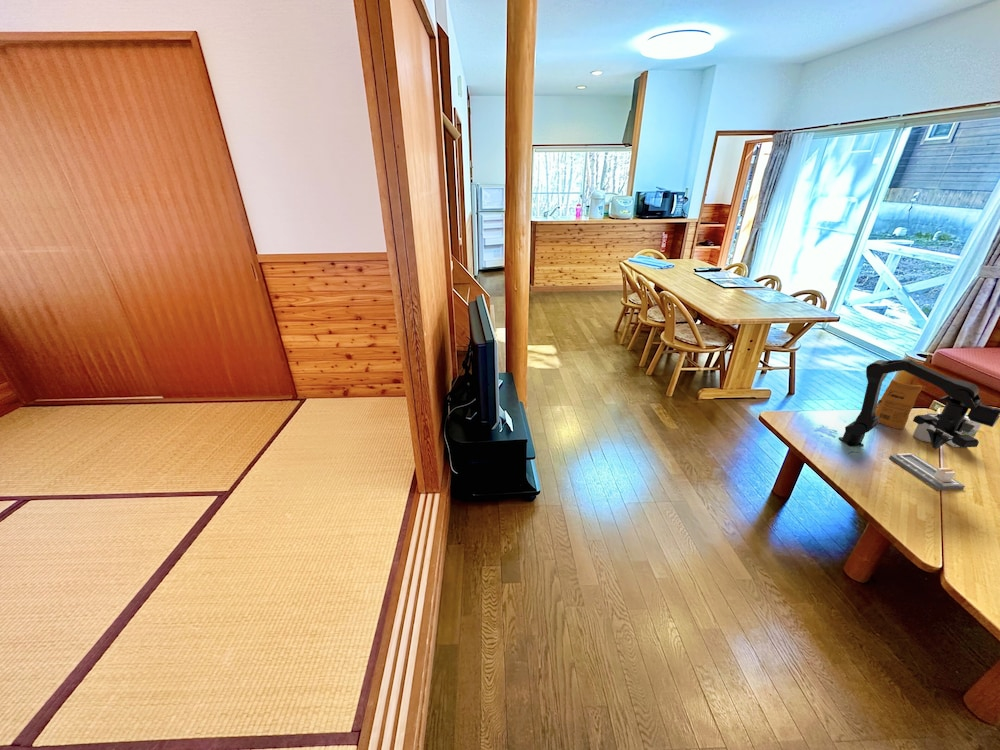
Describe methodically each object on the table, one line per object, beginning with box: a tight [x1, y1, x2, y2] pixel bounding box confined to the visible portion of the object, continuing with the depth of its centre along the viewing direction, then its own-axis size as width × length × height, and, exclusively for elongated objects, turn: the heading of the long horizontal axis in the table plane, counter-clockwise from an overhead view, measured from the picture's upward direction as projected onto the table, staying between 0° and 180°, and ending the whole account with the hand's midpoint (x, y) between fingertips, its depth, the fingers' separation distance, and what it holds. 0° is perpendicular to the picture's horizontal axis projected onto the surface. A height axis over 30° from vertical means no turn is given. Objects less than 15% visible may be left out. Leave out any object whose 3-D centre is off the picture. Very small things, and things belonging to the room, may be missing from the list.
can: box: [912, 412, 939, 443], centre depth 178 cm, size 8×8×12 cm
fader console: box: [888, 452, 966, 491], centre depth 159 cm, size 10×20×2 cm, turn 2°
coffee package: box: [875, 378, 923, 430], centre depth 188 cm, size 10×12×22 cm
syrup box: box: [945, 413, 983, 448], centre depth 173 cm, size 6×6×14 cm
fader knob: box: [934, 467, 956, 482], centre depth 153 cm, size 4×3×5 cm
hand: (934, 448), depth 156 cm, fingers closed
